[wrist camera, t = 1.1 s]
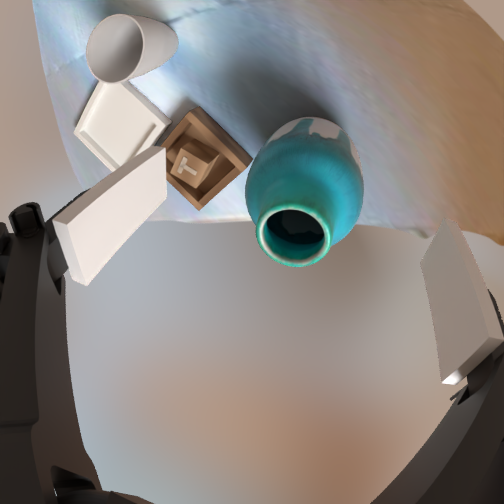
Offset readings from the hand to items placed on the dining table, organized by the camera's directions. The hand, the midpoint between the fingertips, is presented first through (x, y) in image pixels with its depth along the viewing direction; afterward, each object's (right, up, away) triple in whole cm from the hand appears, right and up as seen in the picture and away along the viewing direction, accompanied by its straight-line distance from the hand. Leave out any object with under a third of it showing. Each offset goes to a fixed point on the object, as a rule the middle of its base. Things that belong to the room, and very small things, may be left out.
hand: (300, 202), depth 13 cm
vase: (+6, +10, +22) cm, 25 cm away
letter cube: (-9, +11, +26) cm, 29 cm away
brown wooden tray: (-9, +11, +26) cm, 30 cm away
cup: (-14, +25, +17) cm, 33 cm away
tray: (-22, +17, +26) cm, 38 cm away
